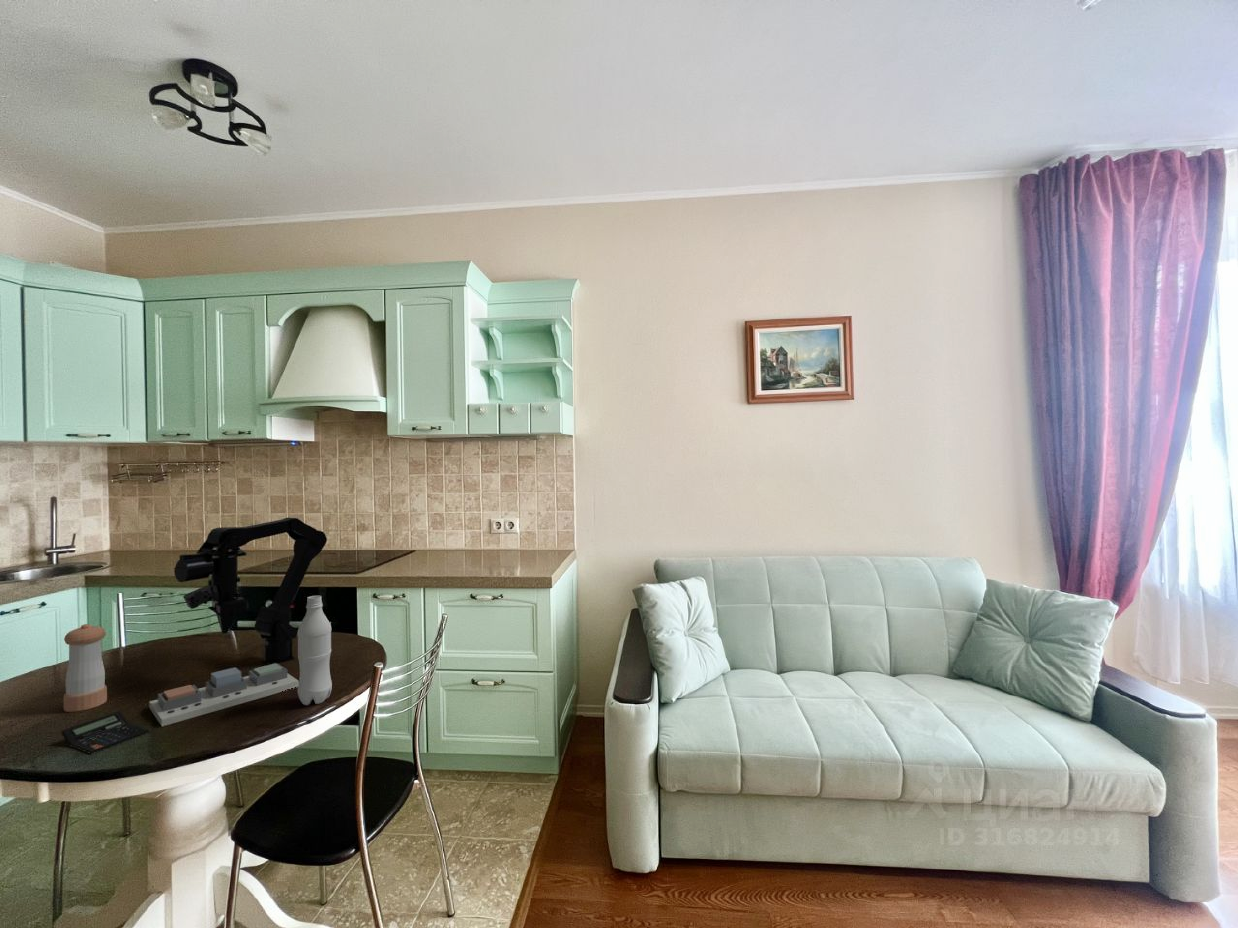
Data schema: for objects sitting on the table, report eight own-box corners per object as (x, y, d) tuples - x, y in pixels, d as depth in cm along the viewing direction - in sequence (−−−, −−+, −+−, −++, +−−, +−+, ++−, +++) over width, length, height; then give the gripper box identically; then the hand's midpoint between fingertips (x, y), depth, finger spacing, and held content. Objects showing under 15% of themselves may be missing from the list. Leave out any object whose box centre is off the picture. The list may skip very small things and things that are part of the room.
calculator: (91, 755, 105) (91, 740, 105) (61, 744, 110) (61, 729, 110) (148, 733, 114) (148, 719, 114) (118, 723, 118) (118, 710, 118)
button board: (279, 673, 146) (279, 660, 146) (298, 686, 137) (298, 672, 137) (149, 707, 125) (149, 692, 125) (161, 726, 116) (161, 709, 116)
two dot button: (235, 677, 135) (235, 667, 135) (241, 682, 132) (241, 672, 132) (211, 683, 131) (210, 673, 131) (216, 688, 128) (216, 678, 128)
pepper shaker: (73, 701, 129) (73, 622, 129) (112, 696, 132) (112, 618, 132) (56, 714, 122) (56, 630, 122) (97, 708, 125) (97, 626, 125)
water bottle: (338, 696, 131) (338, 594, 131) (313, 709, 124) (312, 601, 124) (316, 692, 133) (315, 592, 133) (290, 704, 126) (289, 599, 126)
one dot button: (275, 672, 142) (275, 663, 142) (282, 677, 139) (282, 667, 139) (253, 678, 138) (253, 668, 138) (260, 683, 135) (260, 673, 135)
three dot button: (190, 694, 128) (190, 684, 128) (195, 700, 125) (195, 690, 125) (163, 702, 125) (163, 691, 125) (168, 708, 121) (168, 697, 121)
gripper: (178, 575, 143) (178, 633, 143) (195, 584, 131) (196, 648, 131) (228, 568, 151) (228, 623, 151) (249, 577, 139) (249, 637, 139)
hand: (224, 632), depth 143 cm, fingers closed
